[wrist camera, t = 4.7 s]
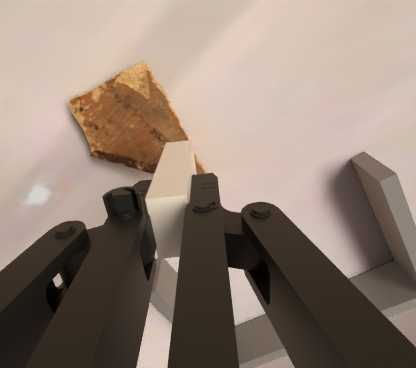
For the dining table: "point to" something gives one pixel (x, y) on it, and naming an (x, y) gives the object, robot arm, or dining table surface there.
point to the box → (367, 282)
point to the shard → (129, 120)
